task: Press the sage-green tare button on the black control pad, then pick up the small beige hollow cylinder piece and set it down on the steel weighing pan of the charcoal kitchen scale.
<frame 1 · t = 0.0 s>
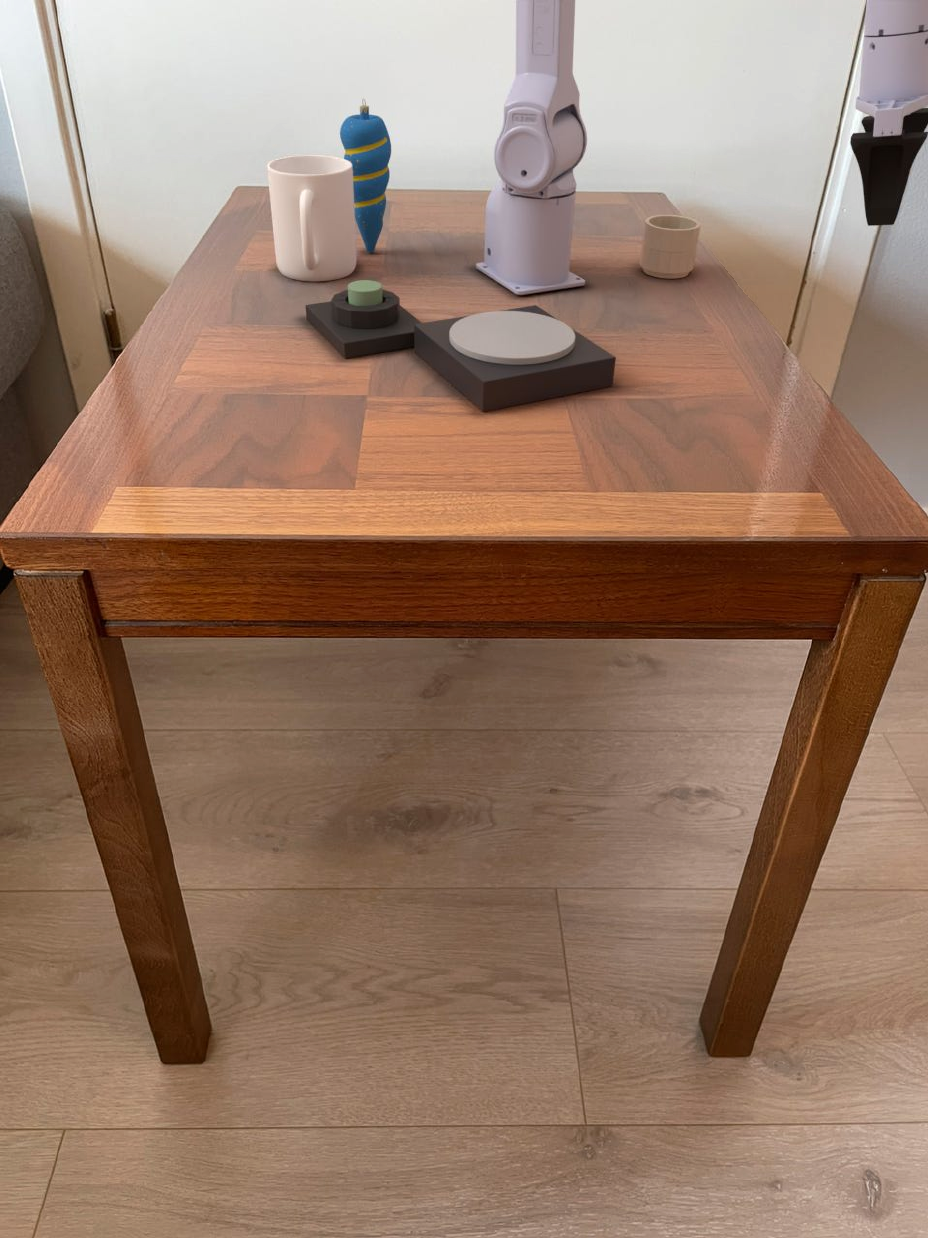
hand: (884, 213, 84), 11 cm above the table, tool pointing down, fingers open, 7 cm apart
cup: (315, 276, 100), on the table
scale: (510, 368, 82), on the table
tare button: (365, 294, 86), point 3 cm above the table, slide at 0.1 cm
beige hollow cylinder piece: (665, 271, 104), on the table
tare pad: (366, 331, 88), on the table
ornament: (369, 253, 107), on the table
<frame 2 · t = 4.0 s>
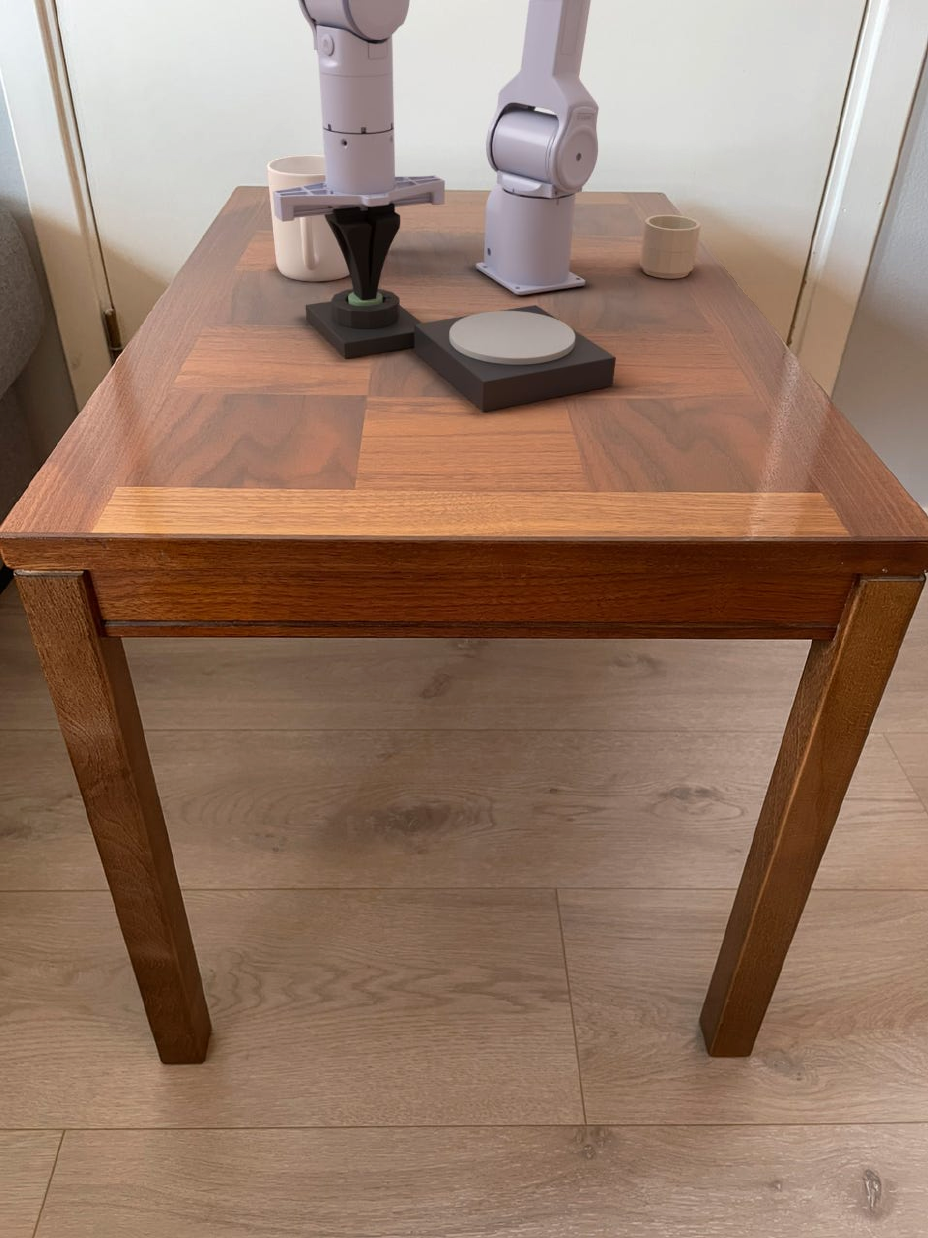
hand: (365, 296, 86), 3 cm above the table, tool pointing down, fingers closed, pressing on tare button
tare button: (365, 304, 87), point 2 cm above the table, slide at -0.8 cm, touching gripper
everything else where it was.
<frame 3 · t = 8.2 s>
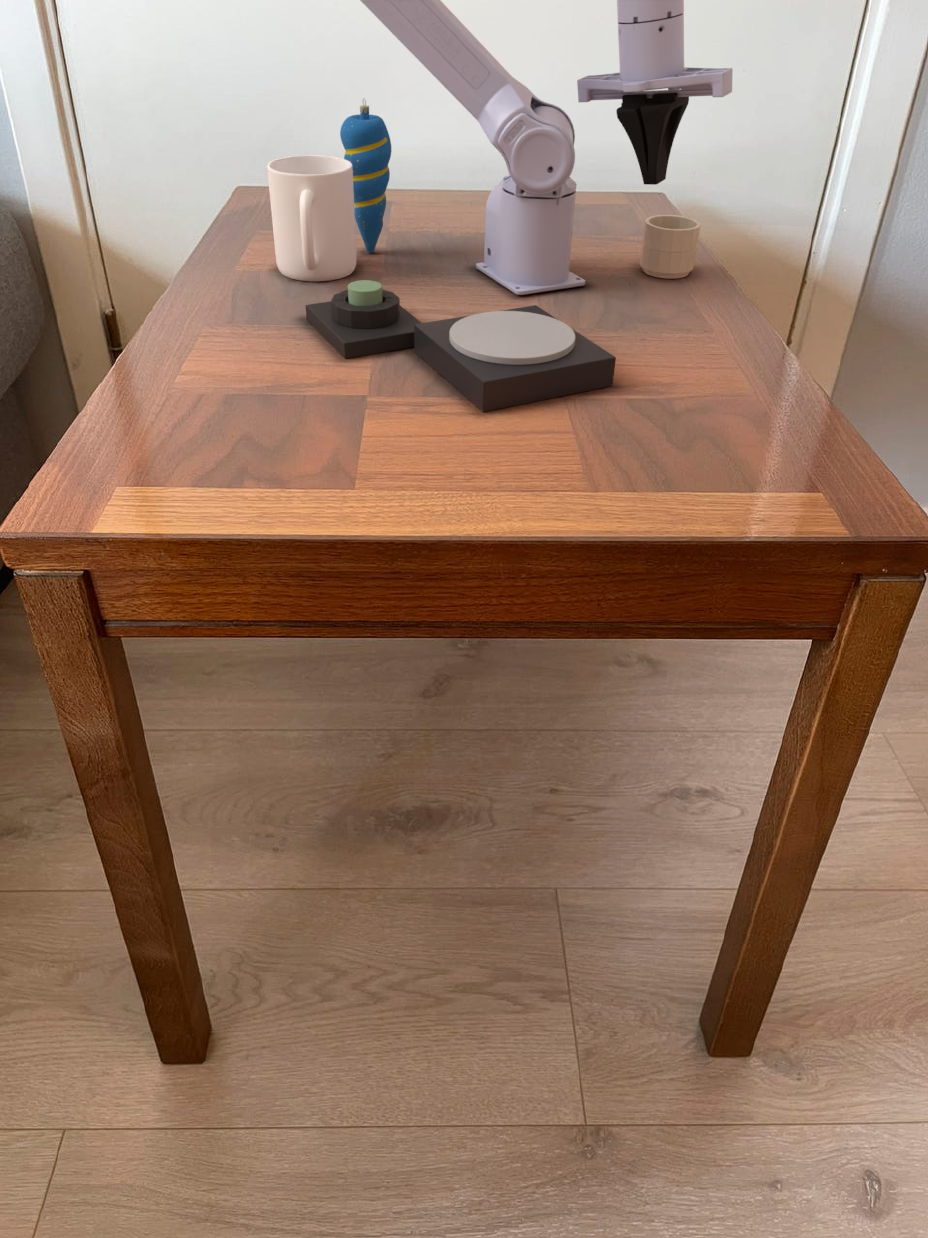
hand: (654, 181, 94), 10 cm above the table, tool pointing down, fingers closed
tare button: (365, 294, 86), point 3 cm above the table, slide at 0.1 cm
everything else where it was.
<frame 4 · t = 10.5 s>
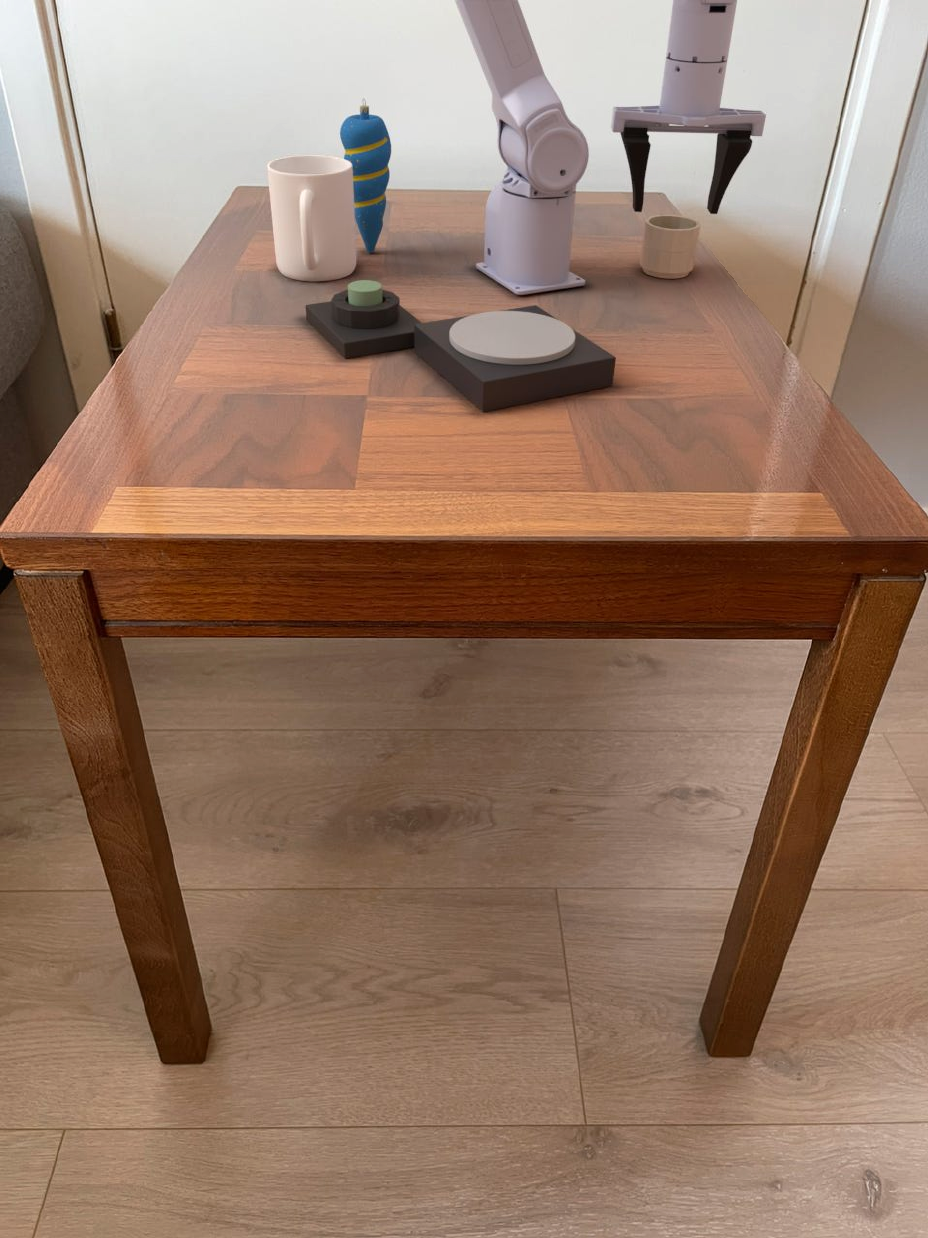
hand: (674, 210, 100), 6 cm above the table, tool pointing down, fingers open, 7 cm apart
nothing on the table moved.
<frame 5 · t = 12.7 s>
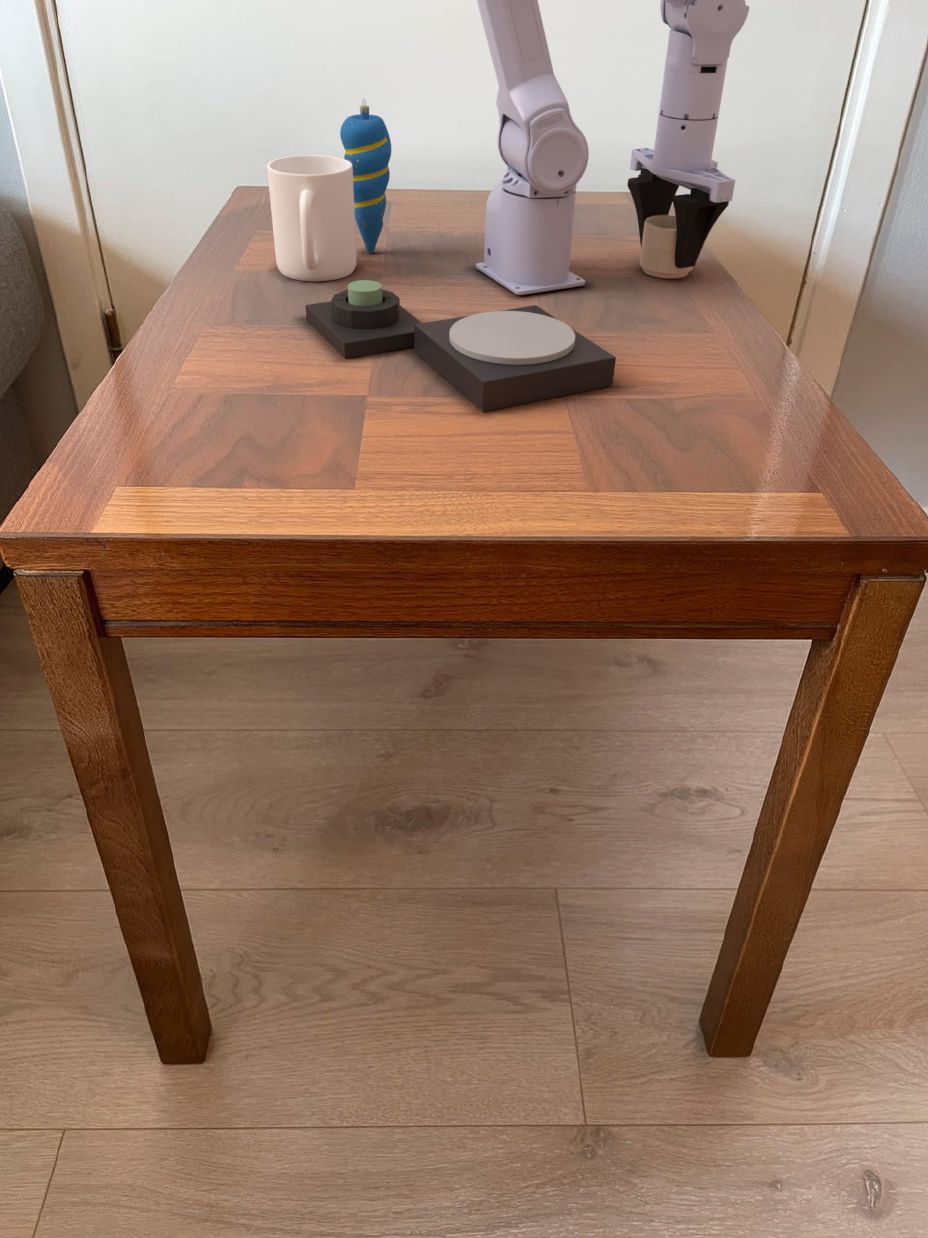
hand: (667, 257, 103), 1 cm above the table, tool pointing down, fingers closed on beige hollow cylinder piece, 5 cm apart
beige hollow cylinder piece: (665, 271, 104), on the table, touching gripper
everything else where it was.
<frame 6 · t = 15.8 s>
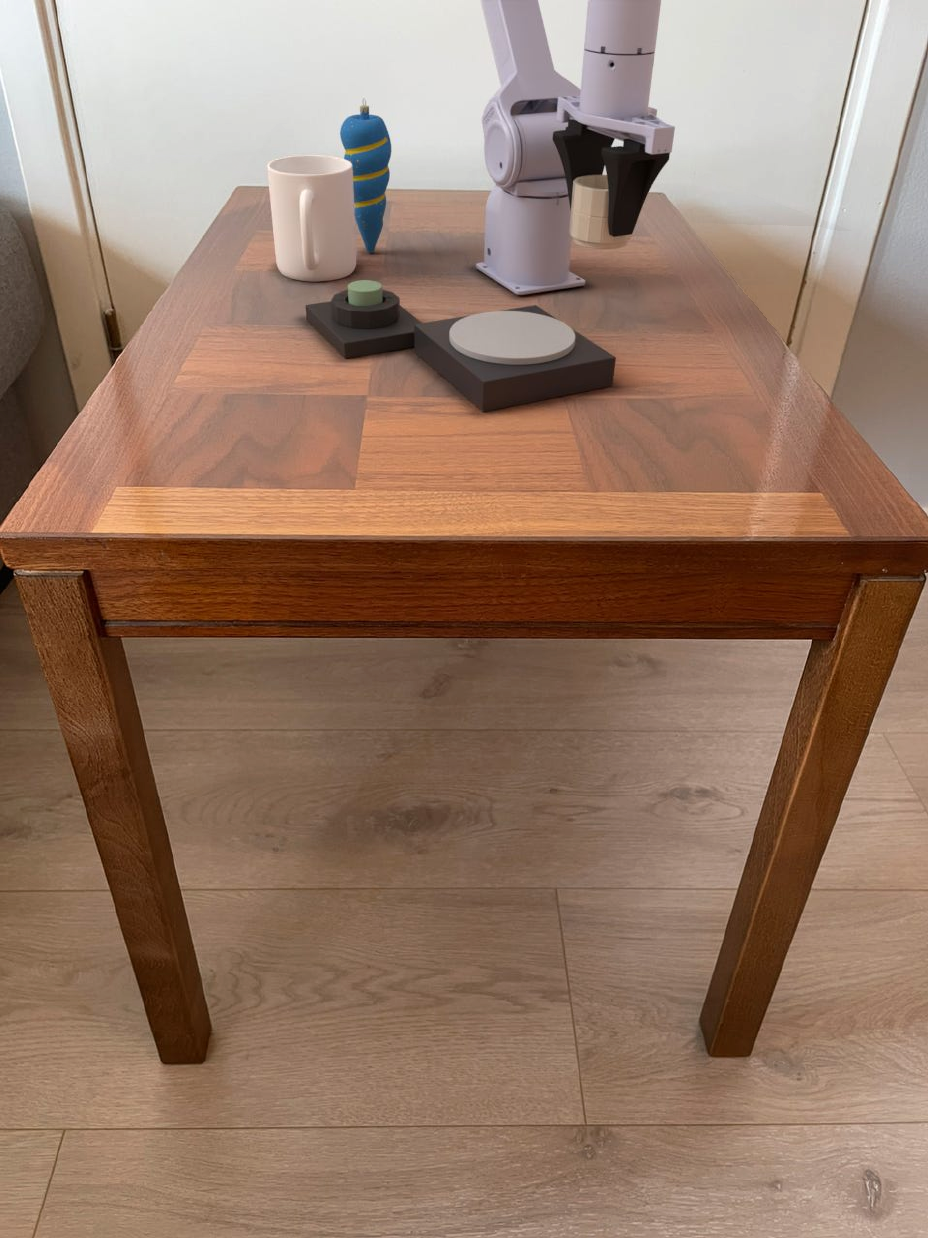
hand: (601, 225, 87), 8 cm above the table, tool pointing down, fingers closed on beige hollow cylinder piece, 5 cm apart
beige hollow cylinder piece: (600, 241, 88), point 7 cm above the table, touching gripper
everything else where it was.
when the fingers open (4 cm above the table, at t = 18.8 s): beige hollow cylinder piece stays where it is, resting on scale.
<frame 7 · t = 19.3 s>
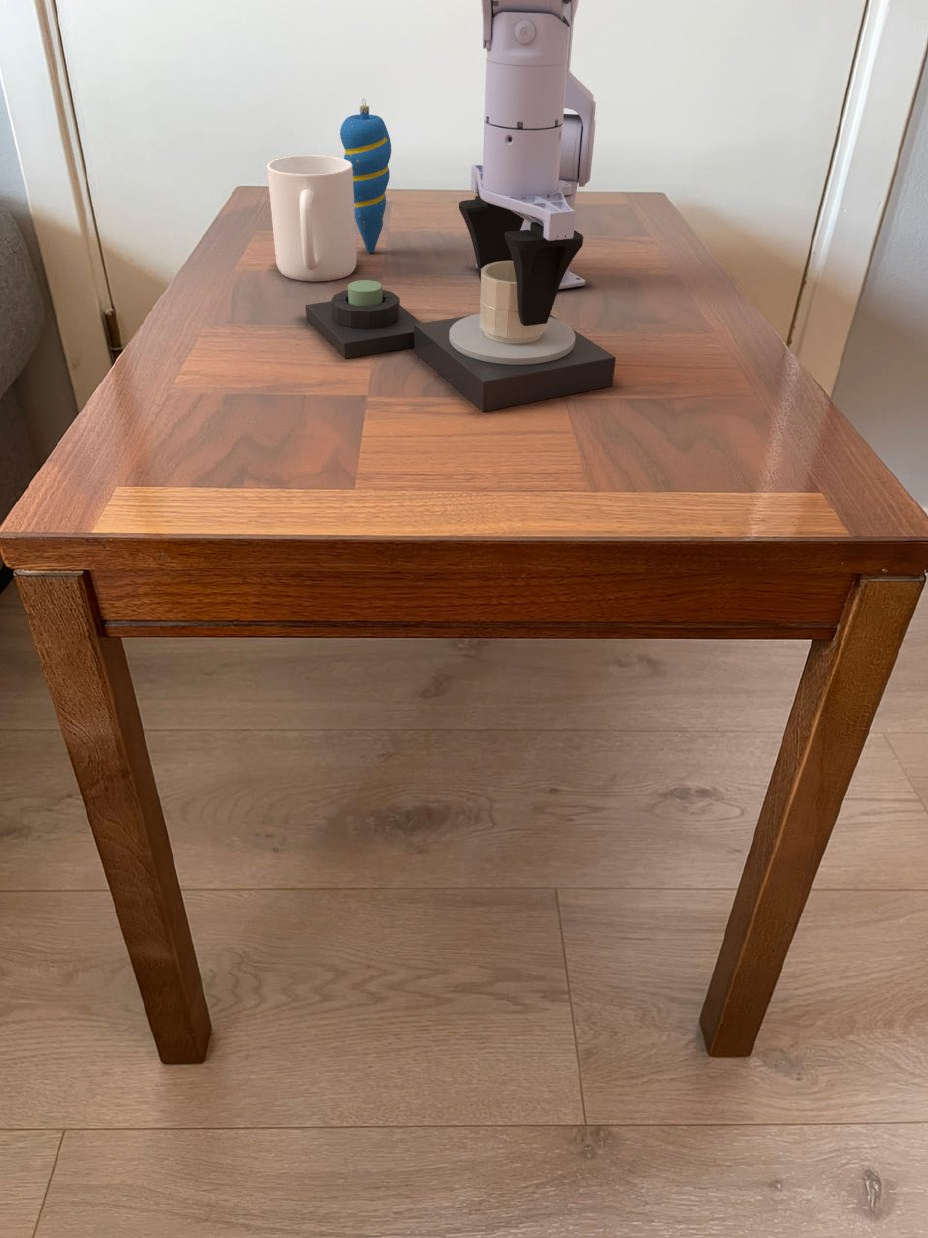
hand: (513, 306, 79), 5 cm above the table, tool pointing down, fingers open, 7 cm apart
beige hollow cylinder piece: (513, 332, 80), point 3 cm above the table, touching scale
everything else where it was.
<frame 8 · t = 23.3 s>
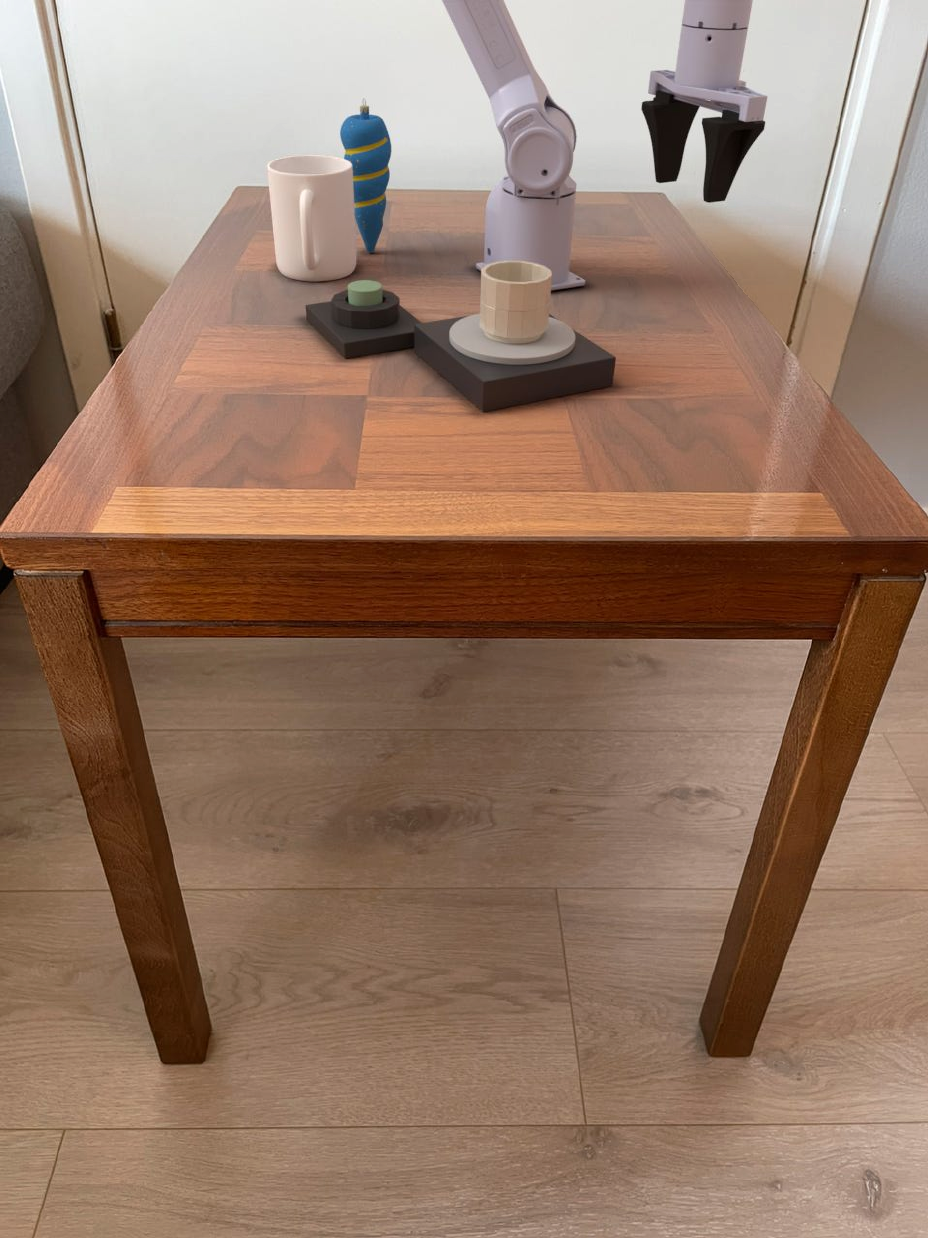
hand: (689, 190, 93), 9 cm above the table, tool pointing down, fingers open, 7 cm apart
nothing on the table moved.
at the end: tare button pushed in 1.0 cm at the most during the clip, back to where it started at the end; beige hollow cylinder piece inside the target area on the scale (0.1 cm from its centre), point 3.1 cm above the scale's base; beige hollow cylinder piece tilted 0° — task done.
